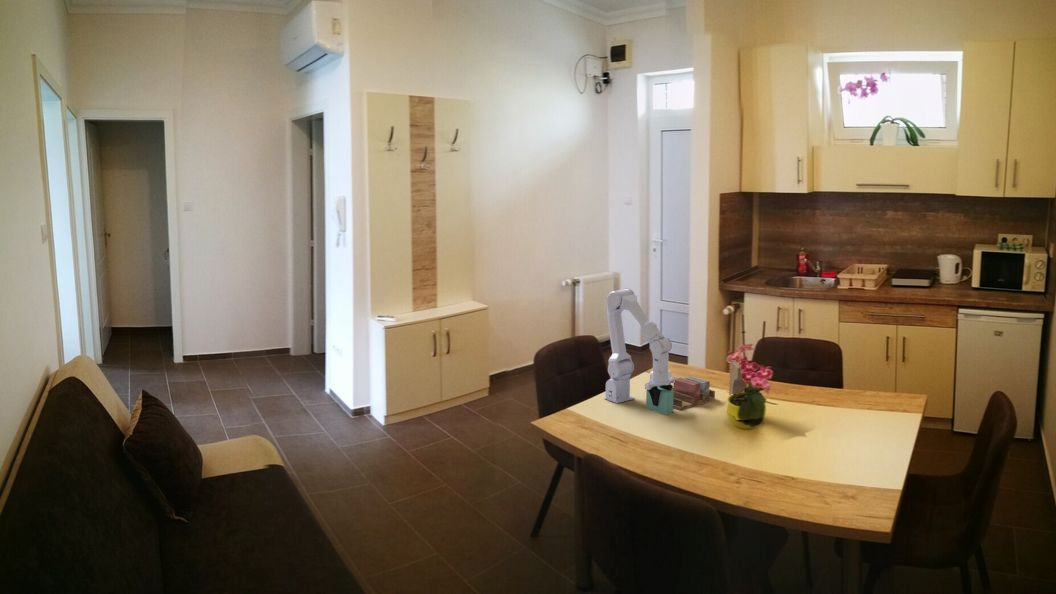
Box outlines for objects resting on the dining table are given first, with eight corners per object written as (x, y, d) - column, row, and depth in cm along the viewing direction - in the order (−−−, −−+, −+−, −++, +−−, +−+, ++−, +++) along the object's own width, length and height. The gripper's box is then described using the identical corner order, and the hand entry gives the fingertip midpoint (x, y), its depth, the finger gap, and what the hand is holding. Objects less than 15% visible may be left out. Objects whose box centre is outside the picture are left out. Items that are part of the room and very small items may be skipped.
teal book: (665, 414, 266) (666, 393, 265) (646, 407, 274) (646, 387, 273) (673, 412, 269) (673, 391, 267) (653, 405, 277) (653, 385, 275)
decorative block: (751, 421, 258) (753, 367, 255) (735, 420, 259) (737, 367, 255) (743, 411, 269) (745, 359, 266) (728, 410, 270) (730, 359, 266)
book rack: (679, 410, 271) (680, 389, 269) (655, 402, 280) (656, 382, 279) (714, 399, 283) (715, 380, 282) (691, 392, 293) (691, 373, 291)
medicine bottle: (671, 387, 300) (672, 359, 298) (665, 391, 294) (665, 363, 292) (655, 384, 304) (656, 357, 302) (648, 388, 298) (649, 361, 296)
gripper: (654, 375, 261) (654, 410, 264) (681, 368, 270) (680, 403, 272) (640, 371, 267) (640, 406, 269) (667, 364, 275) (666, 398, 278)
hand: (659, 404), depth 271 cm, fingers closed on teal book, 4 cm apart
